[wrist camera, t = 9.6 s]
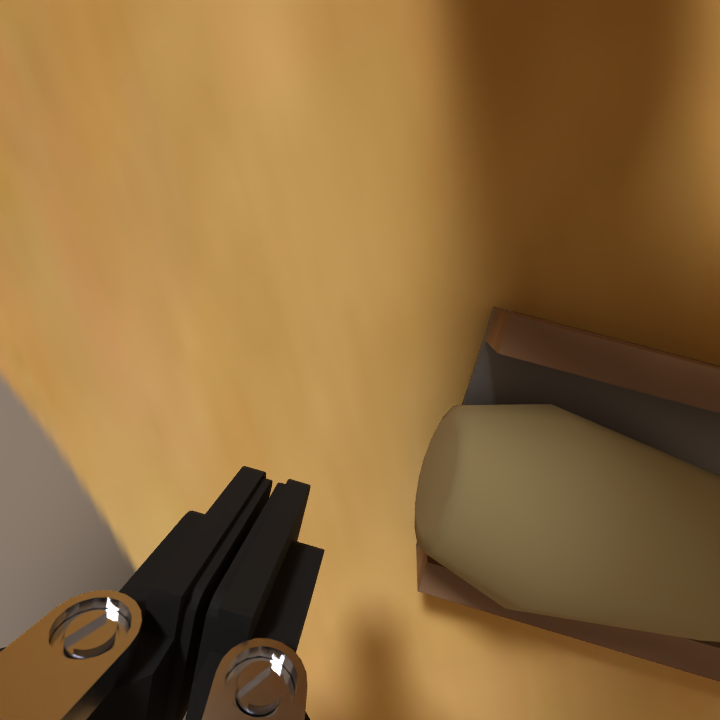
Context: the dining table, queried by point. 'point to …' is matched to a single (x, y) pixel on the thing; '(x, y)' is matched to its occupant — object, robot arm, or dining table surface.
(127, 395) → the dining table surface
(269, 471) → the dining table surface
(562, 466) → the squeeze bottle
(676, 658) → the brown wooden tray
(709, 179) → the dining table surface
